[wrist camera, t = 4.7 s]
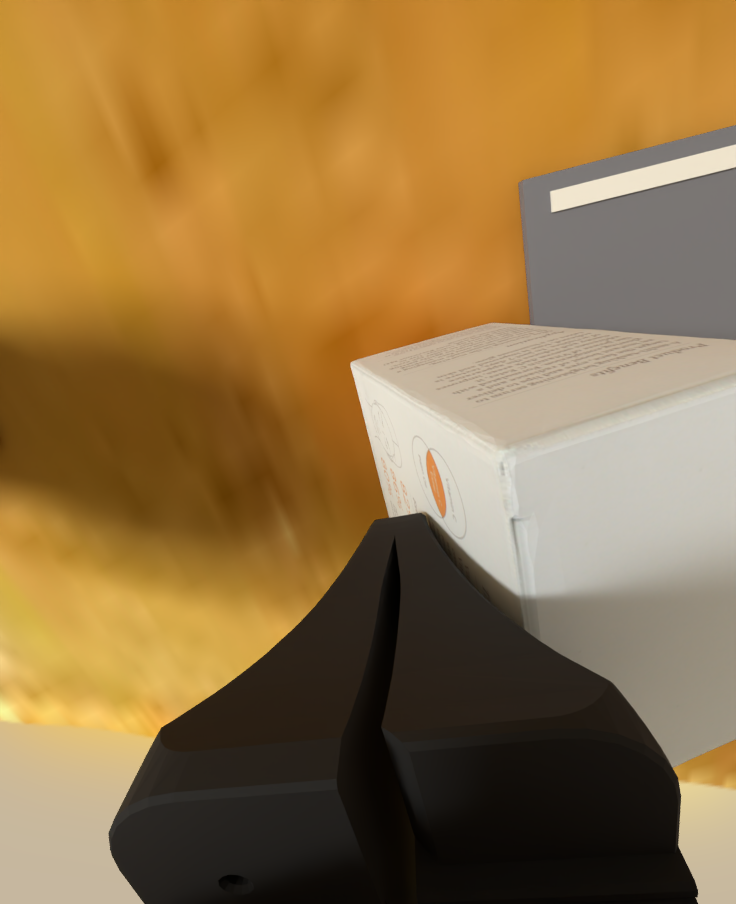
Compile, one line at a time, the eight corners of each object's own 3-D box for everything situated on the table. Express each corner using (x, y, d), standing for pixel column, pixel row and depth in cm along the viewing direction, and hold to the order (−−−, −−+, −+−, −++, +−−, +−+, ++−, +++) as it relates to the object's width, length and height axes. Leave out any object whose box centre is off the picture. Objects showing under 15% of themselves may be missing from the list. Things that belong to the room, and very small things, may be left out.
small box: (516, 508, 19) (791, 726, 9) (392, 551, 18) (551, 838, 8) (494, 316, 16) (859, 340, 6) (345, 357, 15) (502, 454, 6)
